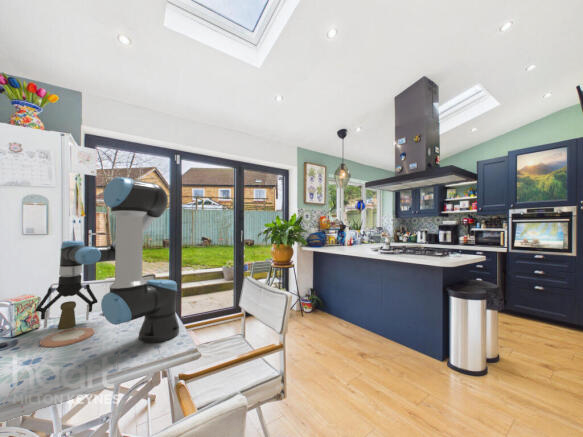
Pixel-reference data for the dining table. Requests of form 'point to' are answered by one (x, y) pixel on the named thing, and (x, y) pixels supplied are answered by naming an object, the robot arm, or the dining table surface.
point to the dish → (67, 337)
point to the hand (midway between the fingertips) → (67, 322)
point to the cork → (67, 315)
